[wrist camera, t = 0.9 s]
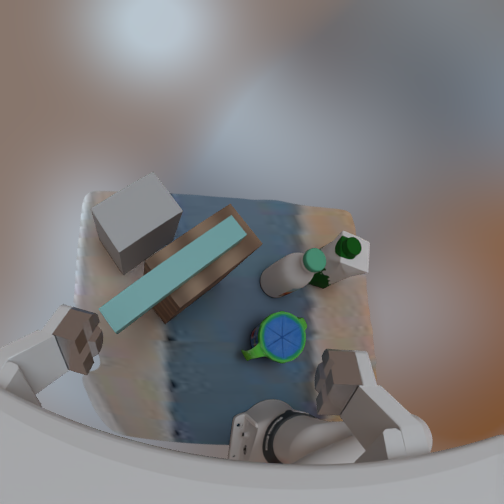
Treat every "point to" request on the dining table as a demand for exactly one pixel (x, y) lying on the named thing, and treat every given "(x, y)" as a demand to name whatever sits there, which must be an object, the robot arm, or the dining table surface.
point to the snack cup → (278, 338)
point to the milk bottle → (292, 272)
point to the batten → (171, 274)
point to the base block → (137, 221)
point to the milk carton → (342, 260)
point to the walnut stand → (212, 272)
